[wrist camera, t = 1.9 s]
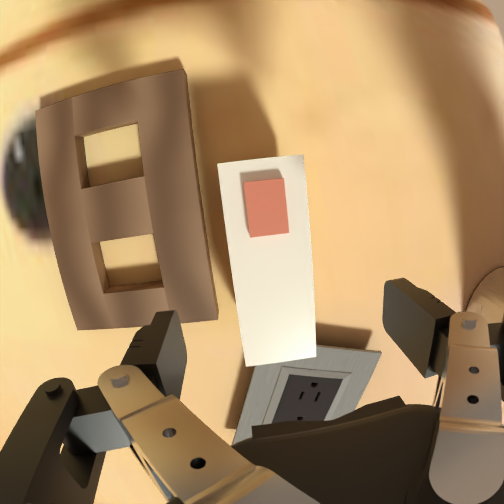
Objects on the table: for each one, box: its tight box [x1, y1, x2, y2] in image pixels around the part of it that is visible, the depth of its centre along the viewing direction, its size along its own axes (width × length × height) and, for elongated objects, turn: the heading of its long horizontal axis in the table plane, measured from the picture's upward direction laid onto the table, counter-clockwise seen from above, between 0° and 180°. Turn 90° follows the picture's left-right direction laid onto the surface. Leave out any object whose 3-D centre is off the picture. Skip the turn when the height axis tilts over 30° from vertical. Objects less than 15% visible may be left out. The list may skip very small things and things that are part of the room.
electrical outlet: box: [232, 344, 382, 445], centre depth 27 cm, size 13×10×2 cm
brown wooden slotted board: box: [35, 69, 219, 330], centre depth 22 cm, size 12×18×2 cm, turn 7°
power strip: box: [217, 155, 316, 367], centre depth 20 cm, size 4×12×7 cm, turn 7°
